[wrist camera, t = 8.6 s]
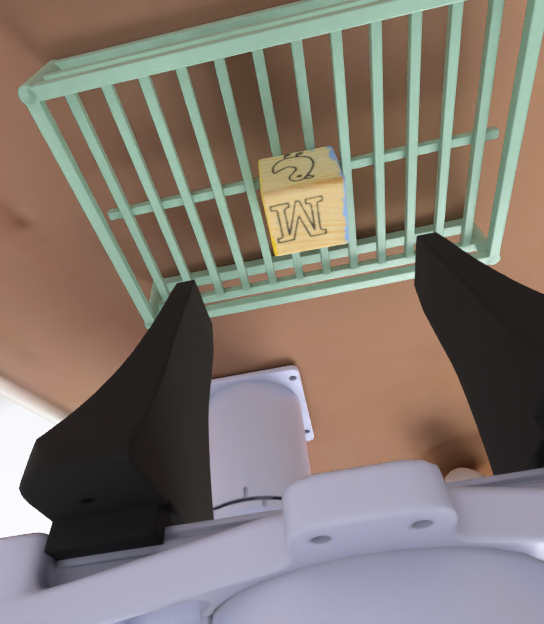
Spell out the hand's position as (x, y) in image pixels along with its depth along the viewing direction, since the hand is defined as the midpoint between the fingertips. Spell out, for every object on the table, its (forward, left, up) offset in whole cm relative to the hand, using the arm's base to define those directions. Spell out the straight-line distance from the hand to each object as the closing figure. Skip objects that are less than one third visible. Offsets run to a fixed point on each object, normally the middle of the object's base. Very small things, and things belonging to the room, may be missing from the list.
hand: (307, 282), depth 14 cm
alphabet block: (0, -1, -7) cm, 7 cm away
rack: (0, -1, -9) cm, 9 cm away
